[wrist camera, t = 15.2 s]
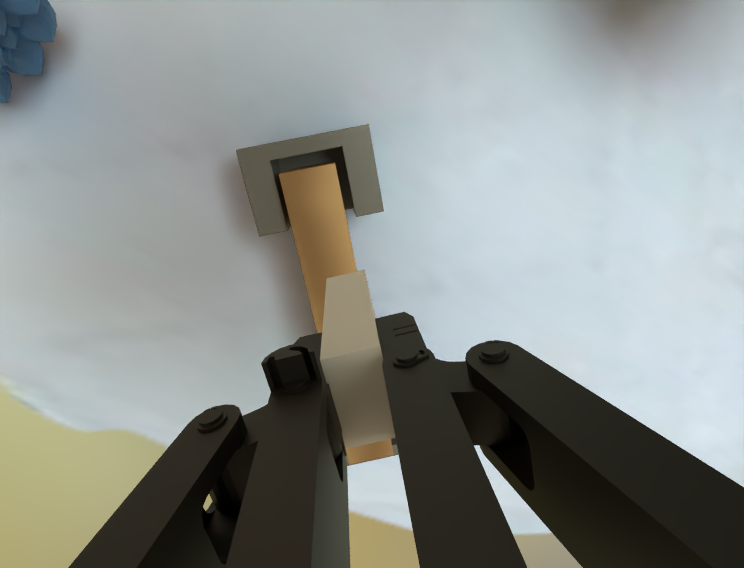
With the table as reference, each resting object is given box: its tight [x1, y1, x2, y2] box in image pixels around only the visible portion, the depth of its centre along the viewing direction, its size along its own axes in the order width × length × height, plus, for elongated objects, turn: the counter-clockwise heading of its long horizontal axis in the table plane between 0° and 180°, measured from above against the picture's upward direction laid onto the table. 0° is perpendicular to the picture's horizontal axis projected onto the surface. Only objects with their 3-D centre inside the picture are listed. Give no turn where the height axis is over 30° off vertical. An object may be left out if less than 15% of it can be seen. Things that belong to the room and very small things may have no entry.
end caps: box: [236, 124, 399, 466], centre depth 34 cm, size 8×25×6 cm, turn 10°
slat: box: [279, 161, 394, 465], centre depth 33 cm, size 4×22×6 cm, turn 10°
